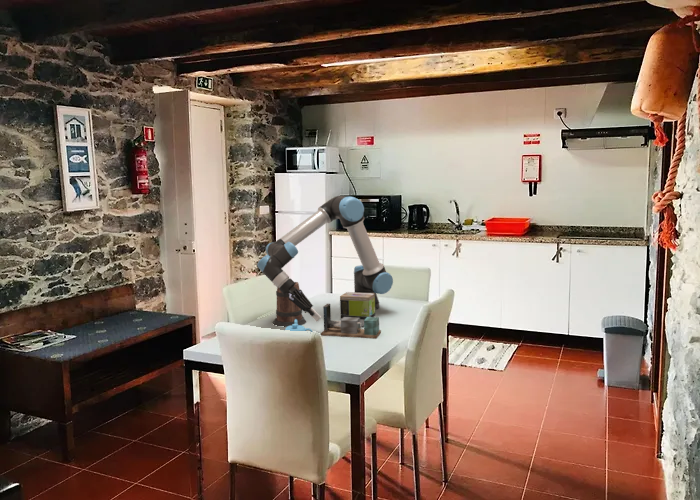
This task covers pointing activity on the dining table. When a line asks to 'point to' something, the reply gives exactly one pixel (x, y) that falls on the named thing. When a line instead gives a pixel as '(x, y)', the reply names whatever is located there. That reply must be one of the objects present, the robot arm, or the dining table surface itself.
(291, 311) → the tankard
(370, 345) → the dining table surface
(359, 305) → the tea box
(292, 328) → the teapot
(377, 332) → the tube stand
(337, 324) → the grey piece
